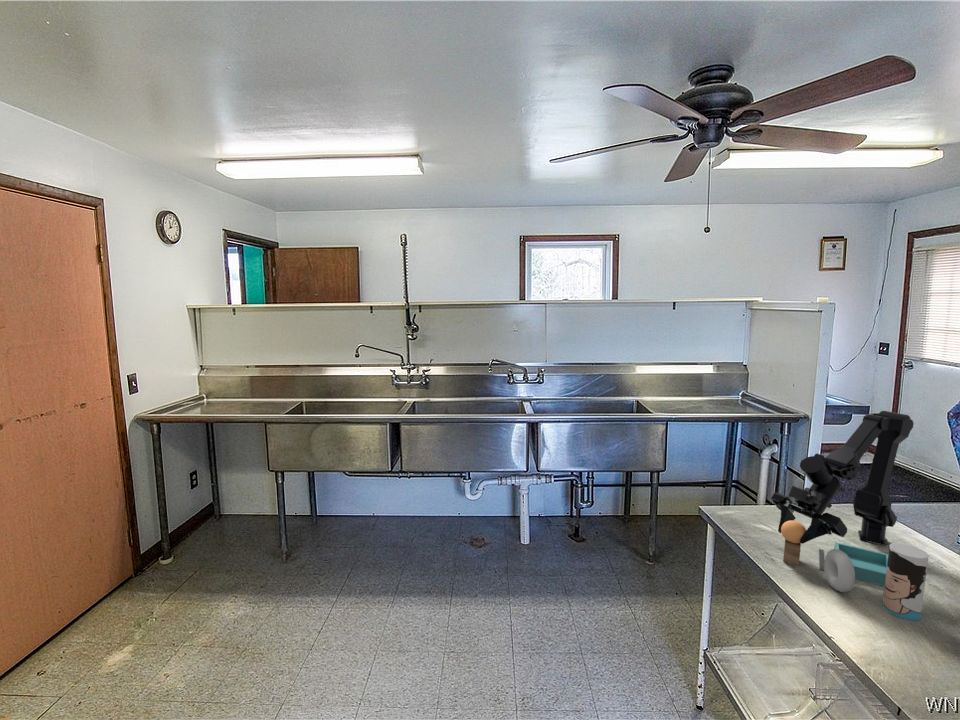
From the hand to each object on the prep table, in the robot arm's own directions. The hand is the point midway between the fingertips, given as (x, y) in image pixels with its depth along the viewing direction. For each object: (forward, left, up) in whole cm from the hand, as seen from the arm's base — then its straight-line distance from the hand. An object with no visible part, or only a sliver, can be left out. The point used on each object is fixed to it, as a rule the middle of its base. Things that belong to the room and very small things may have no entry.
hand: (789, 537), depth 132 cm
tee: (-1, +1, -7) cm, 7 cm away
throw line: (-7, +8, -7) cm, 13 cm away
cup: (+10, +23, -7) cm, 26 cm away
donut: (+8, +11, -7) cm, 15 cm away
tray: (-7, +17, -7) cm, 20 cm away
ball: (-1, +1, +1) cm, 2 cm away
